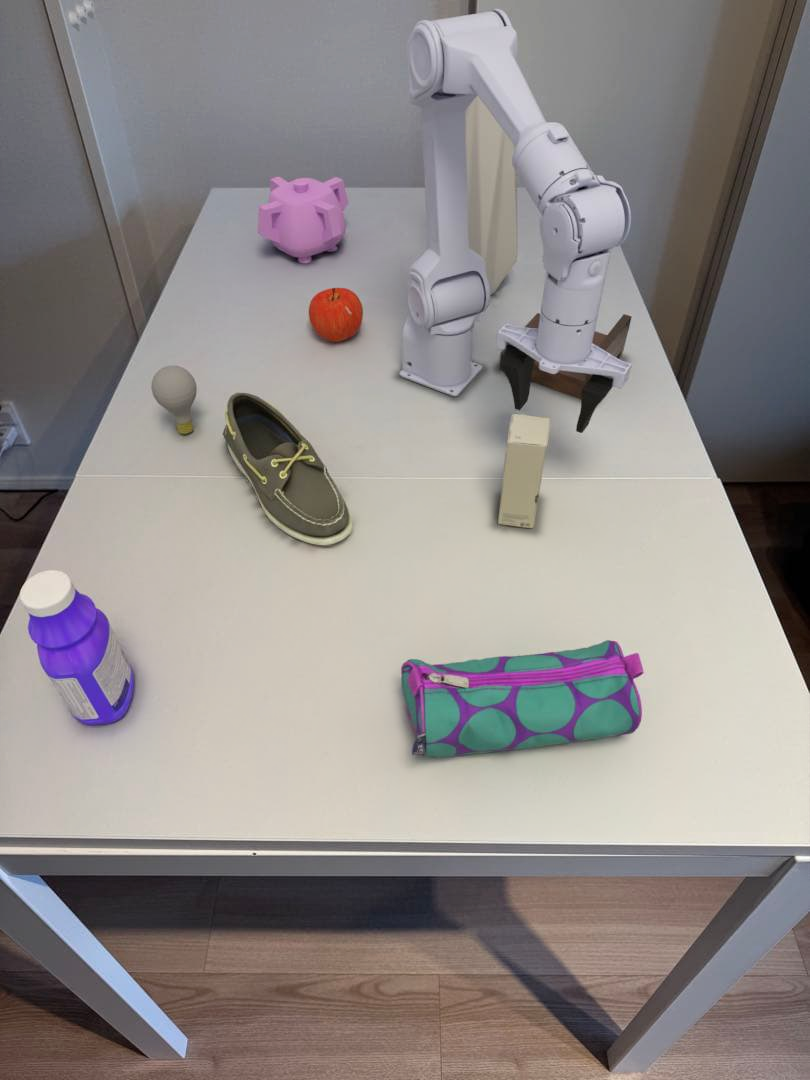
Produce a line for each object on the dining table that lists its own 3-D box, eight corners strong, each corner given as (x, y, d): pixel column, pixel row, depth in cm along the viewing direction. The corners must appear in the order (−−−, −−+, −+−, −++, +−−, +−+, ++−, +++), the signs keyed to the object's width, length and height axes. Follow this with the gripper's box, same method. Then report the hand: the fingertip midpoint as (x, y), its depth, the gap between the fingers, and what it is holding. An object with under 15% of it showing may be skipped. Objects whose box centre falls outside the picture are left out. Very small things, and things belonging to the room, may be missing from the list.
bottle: (85, 668, 78) (19, 557, 65) (141, 663, 78) (87, 553, 65) (70, 733, 73) (-4, 628, 60) (130, 728, 74) (70, 622, 61)
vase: (525, 278, 128) (553, 53, 103) (492, 311, 121) (513, 78, 97) (462, 259, 132) (473, 38, 107) (426, 289, 126) (430, 62, 101)
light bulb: (215, 425, 103) (200, 363, 96) (191, 450, 100) (173, 387, 92) (182, 414, 105) (164, 352, 97) (157, 438, 101) (137, 376, 94)
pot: (317, 214, 143) (311, 149, 134) (378, 248, 135) (376, 181, 126) (236, 247, 135) (224, 180, 126) (296, 285, 127) (288, 216, 118)
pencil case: (412, 779, 70) (412, 729, 63) (400, 694, 76) (399, 639, 69) (633, 752, 72) (658, 700, 64) (605, 671, 77) (625, 615, 70)
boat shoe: (366, 538, 90) (363, 493, 84) (290, 567, 87) (281, 523, 81) (288, 418, 104) (281, 373, 98) (220, 440, 101) (209, 395, 96)
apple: (374, 337, 117) (372, 289, 111) (330, 356, 113) (325, 308, 107) (344, 314, 121) (341, 267, 115) (301, 332, 118) (295, 284, 112)
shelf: (498, 370, 111) (503, 327, 106) (535, 329, 118) (540, 288, 112) (589, 402, 106) (598, 359, 101) (621, 358, 113) (631, 316, 107)
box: (533, 530, 90) (548, 448, 81) (496, 525, 91) (506, 442, 81) (537, 499, 94) (552, 416, 84) (501, 494, 94) (511, 411, 85)
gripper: (487, 308, 78) (478, 413, 88) (622, 352, 73) (597, 458, 83) (518, 277, 82) (506, 381, 92) (649, 316, 77) (621, 422, 87)
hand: (551, 416), depth 88 cm, fingers open, 7 cm apart
